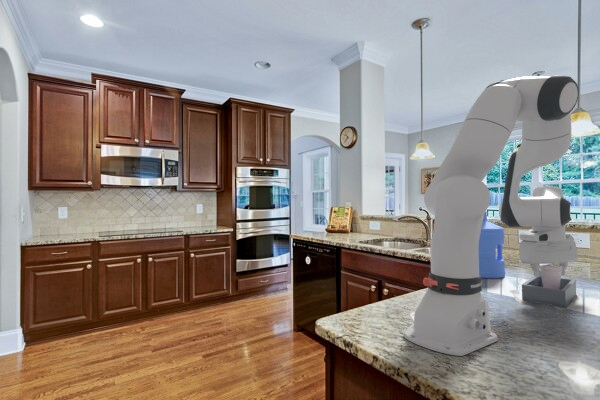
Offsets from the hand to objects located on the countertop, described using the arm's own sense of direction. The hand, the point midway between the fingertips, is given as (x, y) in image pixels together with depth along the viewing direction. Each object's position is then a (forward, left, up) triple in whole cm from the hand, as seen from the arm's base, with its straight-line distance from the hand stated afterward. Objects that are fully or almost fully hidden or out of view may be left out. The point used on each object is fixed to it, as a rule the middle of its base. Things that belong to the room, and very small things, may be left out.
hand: (549, 275), depth 105 cm
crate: (0, 0, -7) cm, 7 cm away
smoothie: (0, 0, -6) cm, 6 cm away
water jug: (+20, +26, -7) cm, 34 cm away
